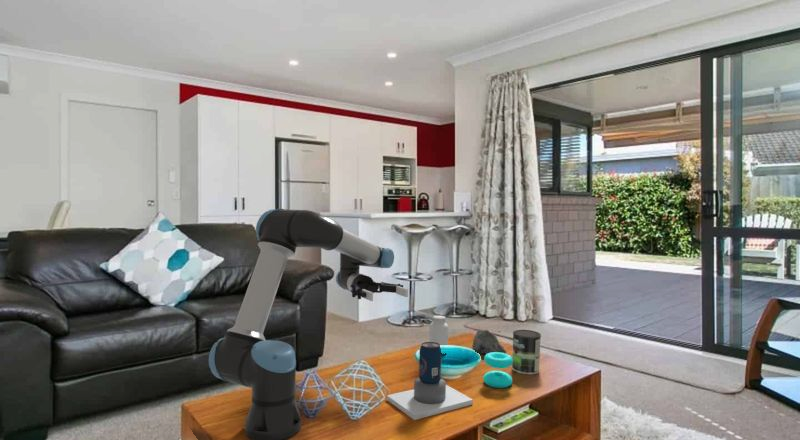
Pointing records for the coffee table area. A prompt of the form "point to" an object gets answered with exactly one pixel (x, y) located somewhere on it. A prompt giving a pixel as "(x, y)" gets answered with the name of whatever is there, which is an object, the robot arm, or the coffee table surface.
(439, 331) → the pill bottle
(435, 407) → the plinth stand
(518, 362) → the coffee can
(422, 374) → the soda can
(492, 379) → the donuts
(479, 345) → the mineral rock
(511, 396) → the coffee table surface
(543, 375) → the coffee table surface
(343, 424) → the coffee table surface
